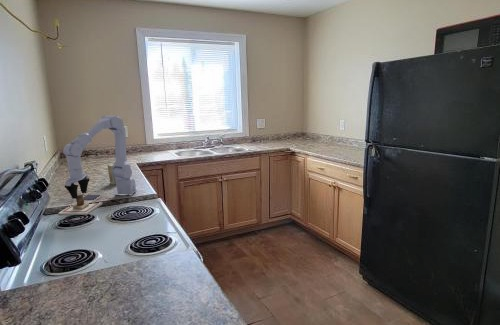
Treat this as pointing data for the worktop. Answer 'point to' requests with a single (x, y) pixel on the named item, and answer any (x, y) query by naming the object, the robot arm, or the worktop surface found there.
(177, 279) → the worktop surface
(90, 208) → the marked board
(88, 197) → the ink pad
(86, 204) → the stamp
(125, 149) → the robot arm
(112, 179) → the skincare box
